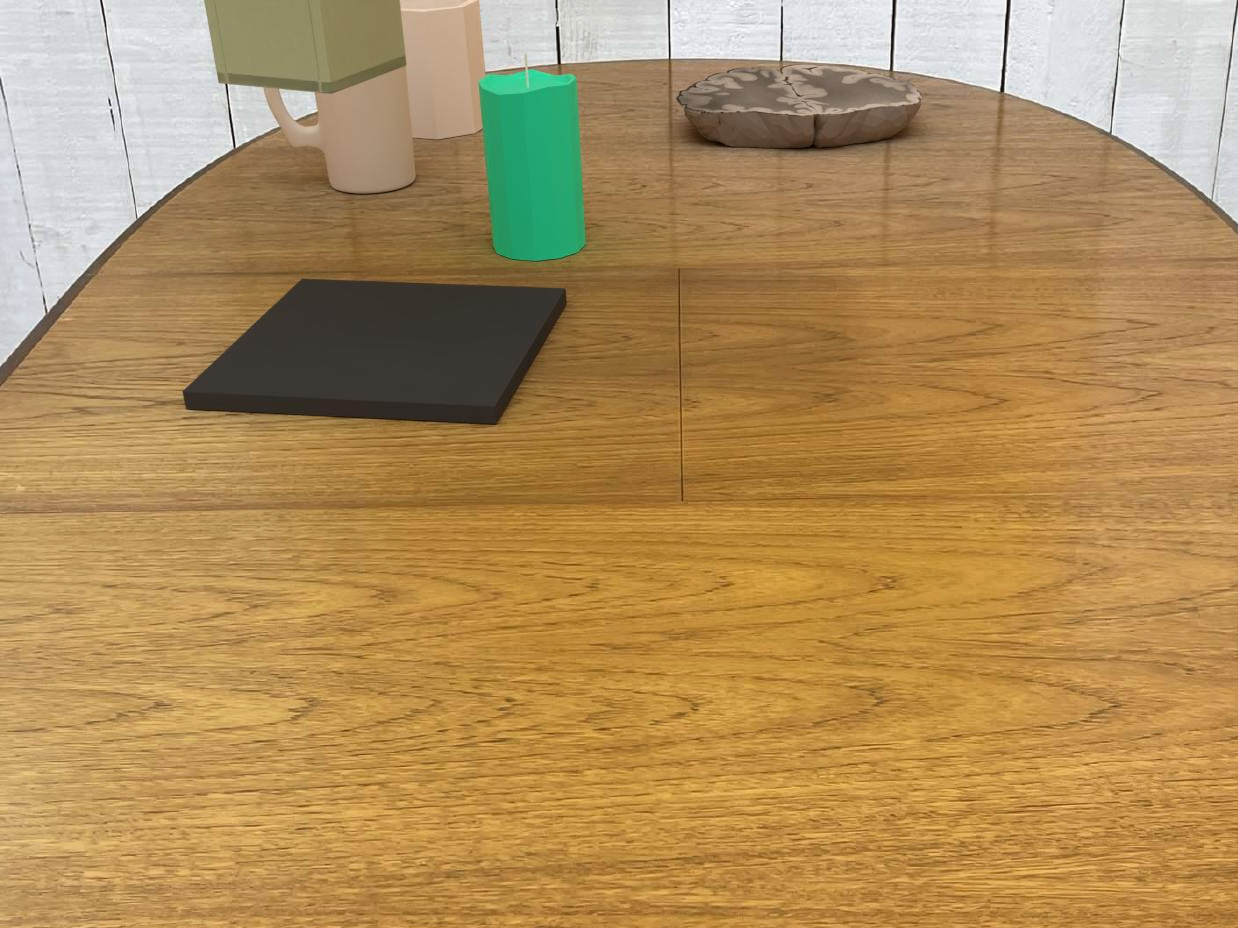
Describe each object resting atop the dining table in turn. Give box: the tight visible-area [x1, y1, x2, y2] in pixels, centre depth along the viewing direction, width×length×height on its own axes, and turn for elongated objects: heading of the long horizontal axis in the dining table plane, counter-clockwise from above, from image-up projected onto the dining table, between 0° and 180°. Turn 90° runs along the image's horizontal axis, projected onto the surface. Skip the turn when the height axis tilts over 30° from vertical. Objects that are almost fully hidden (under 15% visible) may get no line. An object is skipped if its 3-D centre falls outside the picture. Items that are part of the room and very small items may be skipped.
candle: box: [478, 53, 587, 262], centre depth 89 cm, size 6×6×12 cm
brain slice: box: [675, 63, 923, 149], centre depth 116 cm, size 20×17×3 cm
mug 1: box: [262, 8, 417, 195], centre depth 101 cm, size 10×7×12 cm, turn 100°
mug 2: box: [400, 0, 487, 140], centre depth 116 cm, size 12×9×10 cm
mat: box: [182, 278, 567, 425], centre depth 77 cm, size 16×16×1 cm
